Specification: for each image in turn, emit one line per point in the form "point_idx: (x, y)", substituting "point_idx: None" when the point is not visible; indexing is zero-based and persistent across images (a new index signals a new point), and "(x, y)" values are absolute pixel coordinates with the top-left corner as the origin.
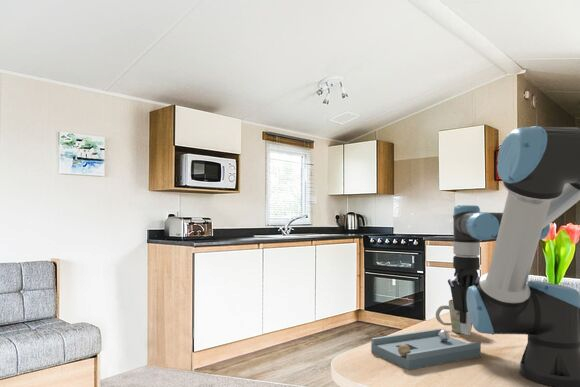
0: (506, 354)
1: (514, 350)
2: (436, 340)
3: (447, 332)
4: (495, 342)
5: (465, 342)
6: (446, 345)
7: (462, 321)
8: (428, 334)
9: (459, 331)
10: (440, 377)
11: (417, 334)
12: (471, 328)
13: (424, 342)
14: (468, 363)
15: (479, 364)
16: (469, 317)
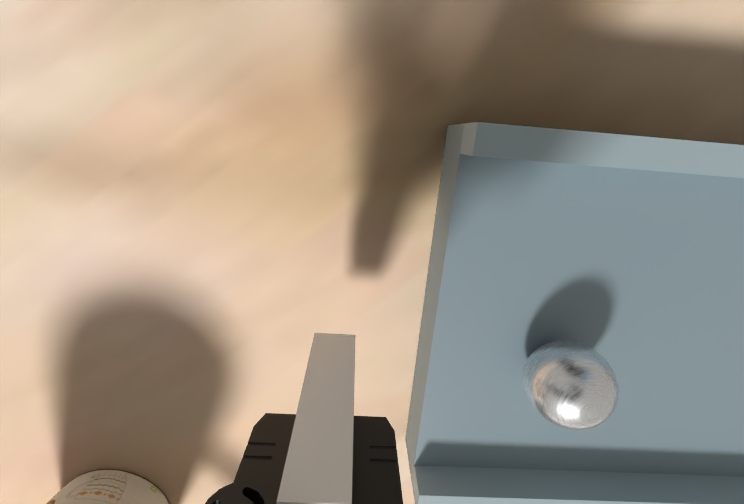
0: (231, 59)
1: (89, 91)
2: None
3: (582, 379)
4: (79, 282)
5: (443, 272)
6: (625, 287)
7: (394, 441)
8: (530, 478)
9: (156, 500)
10: None
11: (630, 491)
12: (53, 498)
13: (674, 393)
14: (646, 71)
15: (607, 12)
16: (320, 449)
